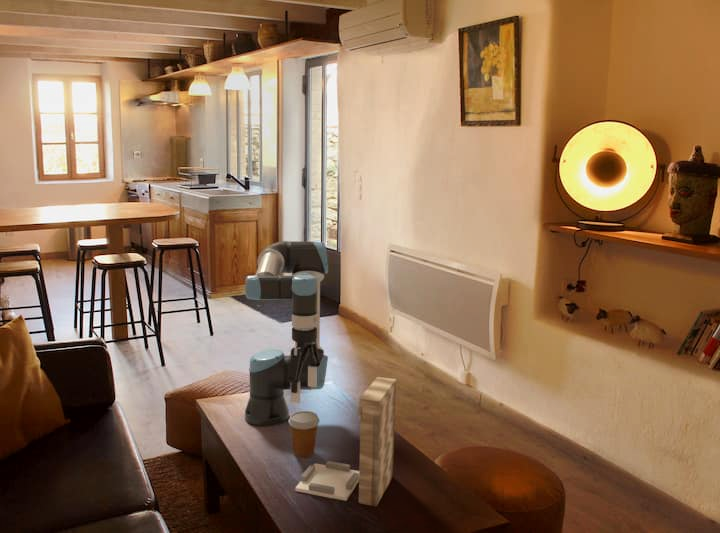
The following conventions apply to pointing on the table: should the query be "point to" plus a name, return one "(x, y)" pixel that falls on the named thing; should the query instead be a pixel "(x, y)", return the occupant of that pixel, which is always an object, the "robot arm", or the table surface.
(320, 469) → the seat plate
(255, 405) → the robot arm
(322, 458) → the table surface
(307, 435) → the disposable coffee cup
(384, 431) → the upright plywood slab
